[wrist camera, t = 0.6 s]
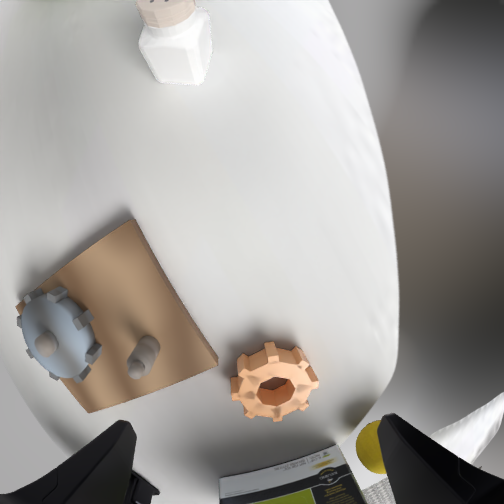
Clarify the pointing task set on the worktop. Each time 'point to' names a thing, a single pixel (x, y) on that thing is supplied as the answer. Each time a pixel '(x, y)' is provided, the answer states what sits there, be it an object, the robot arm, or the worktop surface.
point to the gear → (265, 368)
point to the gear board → (113, 324)
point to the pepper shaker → (175, 40)
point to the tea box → (296, 482)
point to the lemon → (370, 448)
